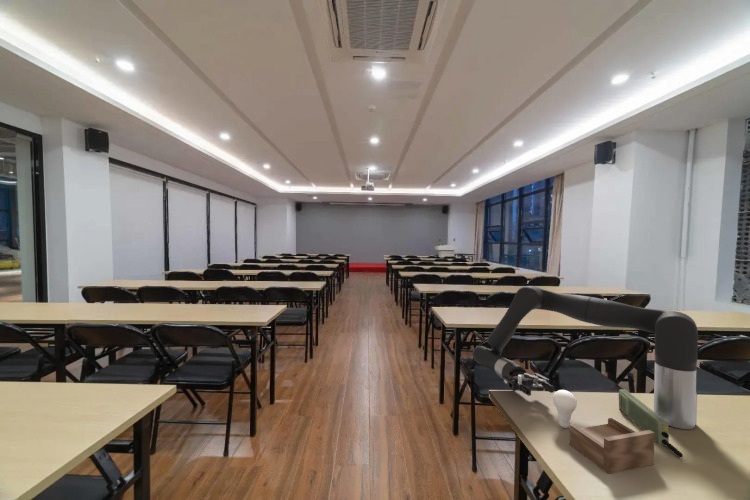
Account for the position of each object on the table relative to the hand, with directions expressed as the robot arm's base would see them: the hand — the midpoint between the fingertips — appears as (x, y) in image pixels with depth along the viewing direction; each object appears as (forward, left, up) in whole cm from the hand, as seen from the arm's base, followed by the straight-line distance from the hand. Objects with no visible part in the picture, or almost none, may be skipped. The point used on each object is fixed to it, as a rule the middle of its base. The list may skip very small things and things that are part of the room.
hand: (541, 391), depth 104 cm
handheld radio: (-22, +16, -7) cm, 28 cm away
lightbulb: (0, +9, -7) cm, 12 cm away
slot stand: (-2, +21, -6) cm, 22 cm away
